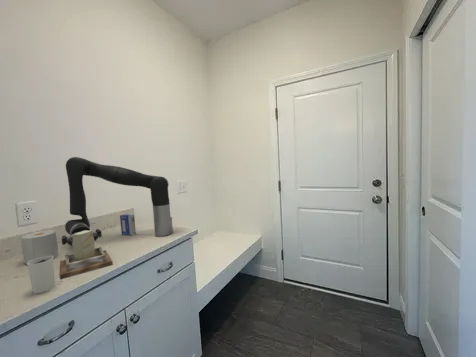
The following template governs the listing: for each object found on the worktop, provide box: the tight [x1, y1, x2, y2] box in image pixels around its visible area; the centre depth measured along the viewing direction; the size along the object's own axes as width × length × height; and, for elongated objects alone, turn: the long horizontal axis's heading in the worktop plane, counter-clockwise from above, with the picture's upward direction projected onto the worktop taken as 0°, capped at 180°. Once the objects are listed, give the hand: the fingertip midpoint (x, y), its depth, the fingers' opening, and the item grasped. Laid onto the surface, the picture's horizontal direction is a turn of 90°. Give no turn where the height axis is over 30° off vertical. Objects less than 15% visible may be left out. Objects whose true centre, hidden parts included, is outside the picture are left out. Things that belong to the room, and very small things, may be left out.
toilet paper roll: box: [21, 229, 59, 266], centre depth 105 cm, size 12×12×12 cm
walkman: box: [119, 214, 137, 236], centre depth 136 cm, size 8×3×12 cm, turn 74°
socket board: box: [59, 246, 114, 280], centre depth 96 cm, size 17×17×4 cm
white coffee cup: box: [26, 256, 56, 294], centre depth 78 cm, size 7×7×10 cm
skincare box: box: [72, 229, 95, 262], centre depth 96 cm, size 6×4×12 cm
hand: (83, 240), depth 96 cm, fingers open, 8 cm apart
